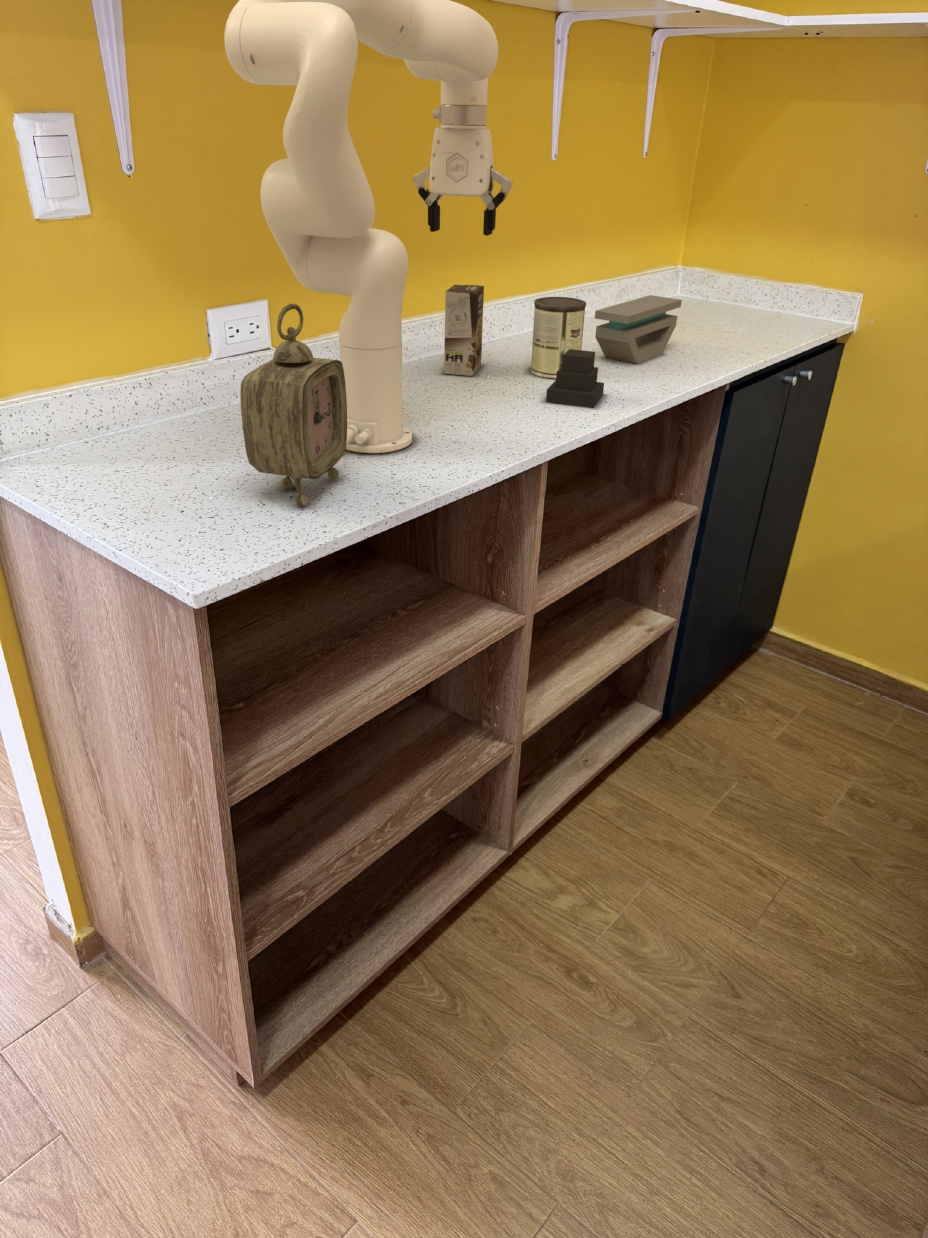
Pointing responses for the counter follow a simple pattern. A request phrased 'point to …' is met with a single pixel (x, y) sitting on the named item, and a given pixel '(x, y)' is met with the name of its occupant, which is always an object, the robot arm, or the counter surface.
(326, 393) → the tabletop clock
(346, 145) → the robot arm
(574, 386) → the medium pad
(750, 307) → the counter surface
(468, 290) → the coffee box
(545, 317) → the coffee can
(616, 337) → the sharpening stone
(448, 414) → the counter surface
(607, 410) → the counter surface
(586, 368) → the small pad
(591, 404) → the large pad
